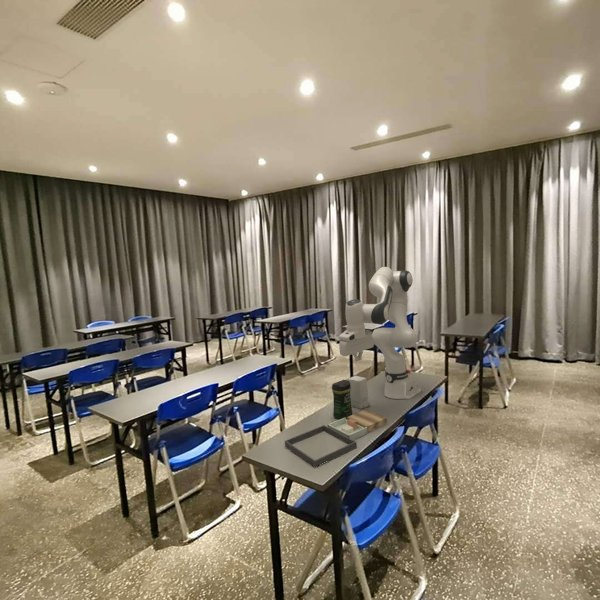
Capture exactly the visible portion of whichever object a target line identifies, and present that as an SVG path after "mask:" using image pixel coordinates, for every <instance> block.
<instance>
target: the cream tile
mask: <svg viewBox="0 0 600 600" xmlns="http://www.w3.org/2000/svg"><path fill="white" fill-rule="evenodd" d="M341 431H343V432H345V433H347V434H350V433H352V432H354V429H353V427H351V426H349V425H346V426H343V427H341Z"/></svg>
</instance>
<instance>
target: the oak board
mask: <svg viewBox="0 0 600 600" xmlns="http://www.w3.org/2000/svg"><path fill="white" fill-rule="evenodd" d="M346 418H347V419H346V420H349V419H352V420H354V421H356V424H357V425H359V426H361V427H364V428H365V427H367V434H368V433H370V432H373V431H375V430H378V429H379V428H381V427H384V426H386V425H387V424H388V422H387V417H385V416H382V415H380V414H378V413H375V412H373V411H370V410H368V409H363V410H361V411H359V412H356V413H354V414H353V413H352V415H351V416H348V417H346Z"/></svg>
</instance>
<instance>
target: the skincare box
mask: <svg viewBox="0 0 600 600" xmlns="http://www.w3.org/2000/svg"><path fill="white" fill-rule="evenodd" d="M367 380H368V379H367V378H366V377H362V376H358V375H353V376H351V377H349V378H347V381H349V382H350V386H351V390H350V399H351V406H352V407H354V408H357V409H360V410H362V409H363V410H364V409H365V408H367V407H369V406H370V402H369V401H370V400H369V392H368V383H367Z"/></svg>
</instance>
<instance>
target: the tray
mask: <svg viewBox="0 0 600 600" xmlns="http://www.w3.org/2000/svg"><path fill="white" fill-rule="evenodd" d="M346 425H348V423H347V419H346V418H342V419H336V420H335V421H333V422H330V423H328V424H327V427H329V428H331V429H333V430H335V431H337V432H338V433H340V434H342V435H344V436H346V437H348V438H350V439H352V440H354V441H355V440H357V439H359V438H361V437H363V436H365V435H367V434H368V433H367V427H365V428H364V427H361V426H359V425H357V430H355V431H354V432H352V433H350V434H347V433H345V432H343V431H341V427H343V426H346Z"/></svg>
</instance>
